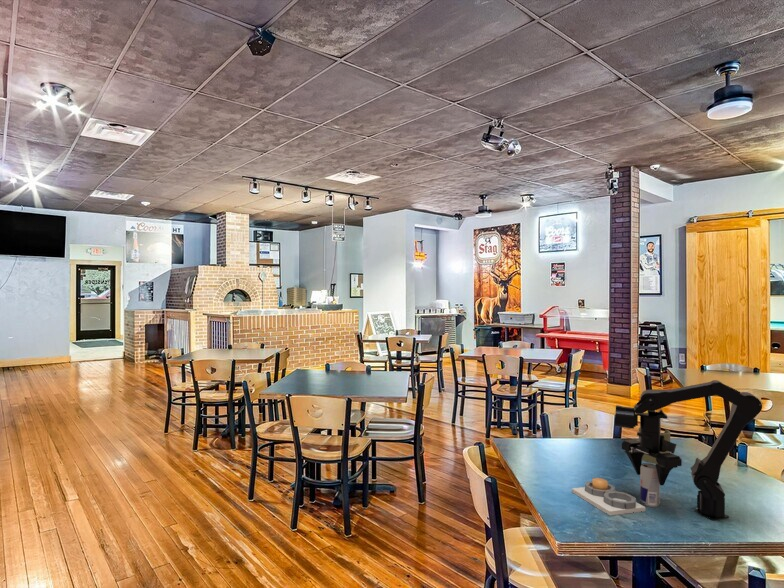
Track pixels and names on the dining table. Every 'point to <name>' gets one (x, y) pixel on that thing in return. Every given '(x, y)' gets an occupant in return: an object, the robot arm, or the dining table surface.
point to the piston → (652, 459)
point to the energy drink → (649, 485)
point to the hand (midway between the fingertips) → (650, 479)
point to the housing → (607, 497)
